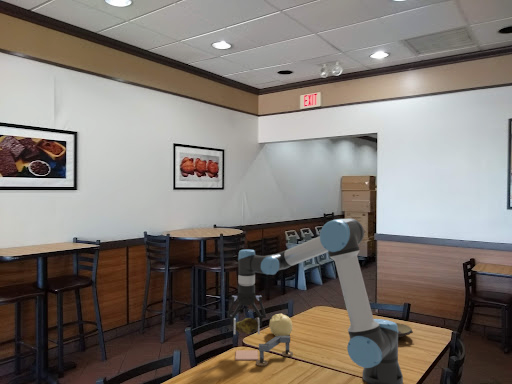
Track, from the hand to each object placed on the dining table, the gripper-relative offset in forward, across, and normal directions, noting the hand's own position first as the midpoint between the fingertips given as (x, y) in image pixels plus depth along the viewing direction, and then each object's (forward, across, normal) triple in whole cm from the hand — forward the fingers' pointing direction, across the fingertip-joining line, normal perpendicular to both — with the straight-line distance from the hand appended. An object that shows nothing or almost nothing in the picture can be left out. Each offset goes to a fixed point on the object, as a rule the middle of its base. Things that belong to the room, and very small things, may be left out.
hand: (246, 333), depth 186 cm
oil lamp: (+10, -72, -27) cm, 77 cm away
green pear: (+1, 0, 0) cm, 1 cm away
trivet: (+10, 0, 0) cm, 10 cm away
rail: (+10, -12, +4) cm, 17 cm away
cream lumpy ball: (+10, -18, -28) cm, 35 cm away
